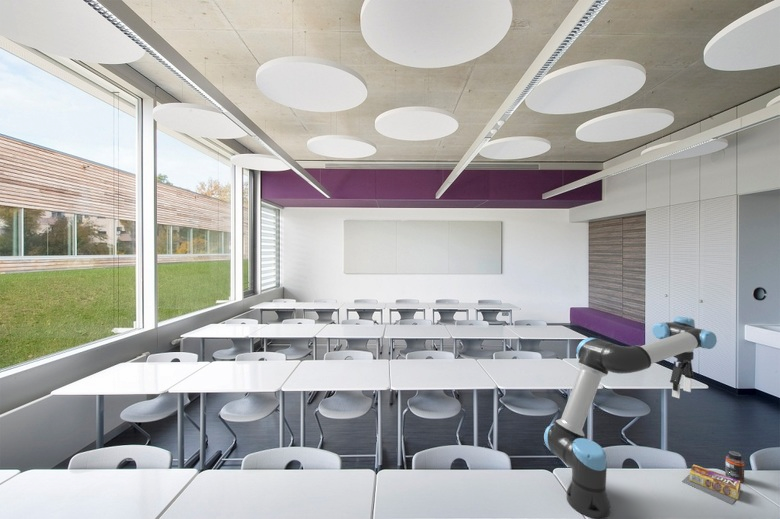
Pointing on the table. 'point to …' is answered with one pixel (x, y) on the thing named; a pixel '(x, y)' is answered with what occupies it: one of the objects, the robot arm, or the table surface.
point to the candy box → (715, 481)
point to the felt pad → (710, 491)
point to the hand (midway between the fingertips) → (681, 394)
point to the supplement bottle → (734, 466)
